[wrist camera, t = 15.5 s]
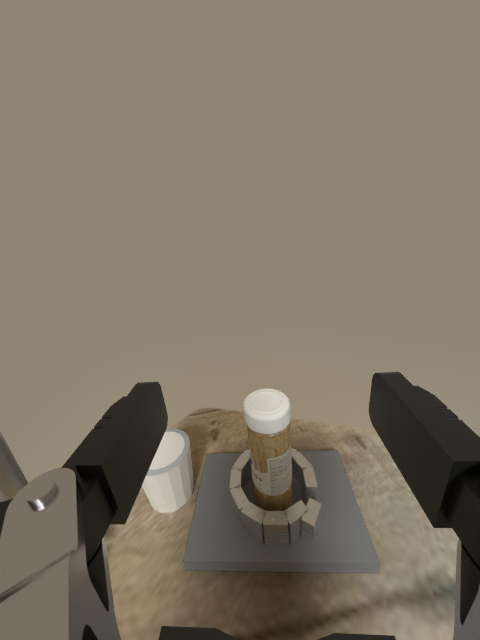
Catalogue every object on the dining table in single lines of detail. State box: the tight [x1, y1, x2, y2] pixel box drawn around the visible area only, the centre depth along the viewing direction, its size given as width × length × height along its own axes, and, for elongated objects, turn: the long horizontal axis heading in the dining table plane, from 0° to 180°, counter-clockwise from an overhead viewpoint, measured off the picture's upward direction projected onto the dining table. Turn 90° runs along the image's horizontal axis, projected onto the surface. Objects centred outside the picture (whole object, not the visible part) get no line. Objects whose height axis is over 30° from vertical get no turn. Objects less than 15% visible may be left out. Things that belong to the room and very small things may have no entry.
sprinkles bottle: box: [243, 389, 293, 511], centre depth 26 cm, size 5×5×13 cm
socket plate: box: [184, 450, 380, 573], centre depth 28 cm, size 18×12×2 cm, turn 87°
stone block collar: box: [229, 448, 321, 547], centre depth 28 cm, size 9×10×3 cm
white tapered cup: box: [142, 428, 194, 513], centre depth 31 cm, size 7×7×7 cm
